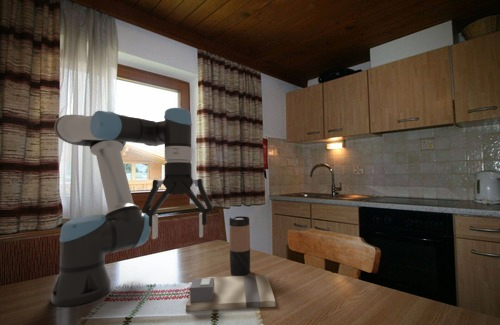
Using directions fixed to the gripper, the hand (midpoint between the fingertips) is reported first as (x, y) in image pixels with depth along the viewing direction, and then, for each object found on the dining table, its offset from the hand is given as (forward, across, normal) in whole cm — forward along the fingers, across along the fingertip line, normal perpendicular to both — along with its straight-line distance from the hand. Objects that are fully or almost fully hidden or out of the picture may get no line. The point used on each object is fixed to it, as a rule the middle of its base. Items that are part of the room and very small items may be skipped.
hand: (178, 237), depth 71 cm
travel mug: (+19, +18, +20) cm, 33 cm away
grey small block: (+17, +7, 0) cm, 18 cm away
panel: (+18, +15, +4) cm, 24 cm away
